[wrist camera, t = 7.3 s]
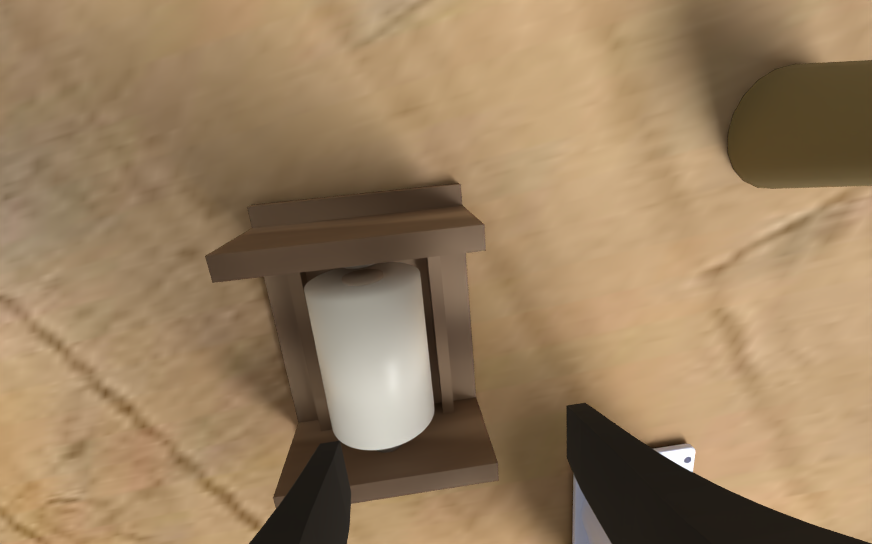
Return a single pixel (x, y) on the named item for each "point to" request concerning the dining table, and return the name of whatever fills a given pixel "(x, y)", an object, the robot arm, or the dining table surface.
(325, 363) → the roll
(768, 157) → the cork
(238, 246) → the holder
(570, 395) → the dining table surface
